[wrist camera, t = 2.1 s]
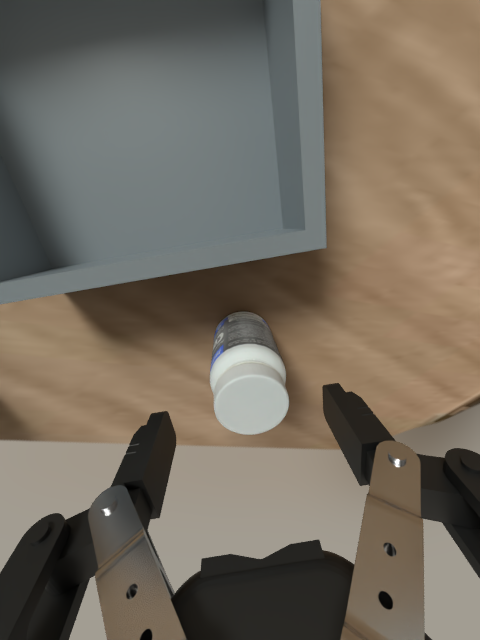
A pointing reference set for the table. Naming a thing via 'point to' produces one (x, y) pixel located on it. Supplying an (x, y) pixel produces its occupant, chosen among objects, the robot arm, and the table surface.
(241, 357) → the pill bottle
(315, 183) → the tote
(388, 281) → the table surface
